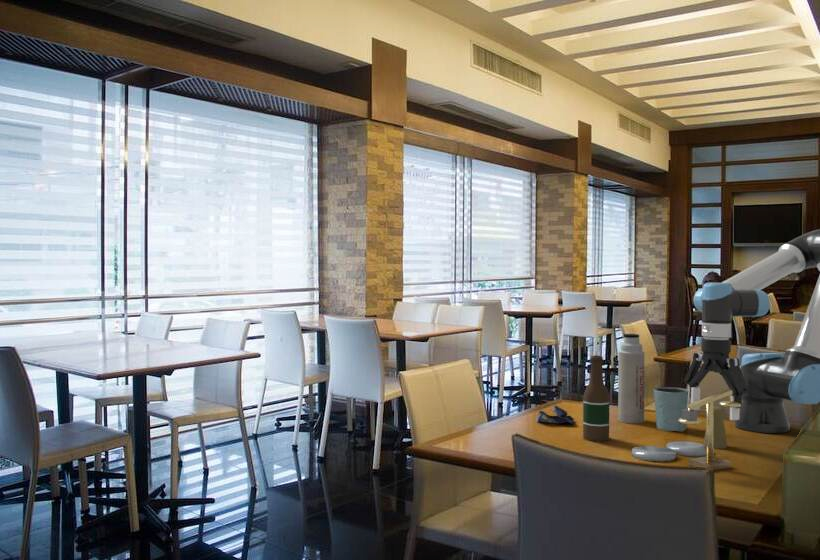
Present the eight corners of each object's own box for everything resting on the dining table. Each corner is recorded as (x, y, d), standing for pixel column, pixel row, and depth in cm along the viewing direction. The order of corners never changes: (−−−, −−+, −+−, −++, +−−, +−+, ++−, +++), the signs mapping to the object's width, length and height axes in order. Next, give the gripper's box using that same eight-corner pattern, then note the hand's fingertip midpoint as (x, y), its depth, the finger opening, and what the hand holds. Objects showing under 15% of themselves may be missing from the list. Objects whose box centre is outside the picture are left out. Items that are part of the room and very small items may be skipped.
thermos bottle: (649, 421, 224) (650, 334, 224) (631, 424, 221) (631, 335, 220) (631, 417, 232) (631, 332, 231) (612, 419, 228) (613, 333, 227)
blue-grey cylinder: (677, 433, 209) (678, 393, 208) (646, 428, 216) (646, 389, 216) (694, 428, 215) (694, 389, 215) (663, 423, 223) (663, 385, 223)
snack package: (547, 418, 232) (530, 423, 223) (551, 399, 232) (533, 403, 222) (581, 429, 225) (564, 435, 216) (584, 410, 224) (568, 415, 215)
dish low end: (654, 448, 192) (654, 444, 192) (685, 458, 182) (685, 454, 182) (622, 453, 188) (622, 448, 188) (652, 463, 178) (652, 459, 178)
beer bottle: (578, 435, 207) (579, 354, 206) (604, 435, 208) (604, 354, 207) (587, 442, 199) (588, 358, 199) (614, 441, 200) (614, 357, 199)
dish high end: (688, 444, 197) (688, 439, 197) (719, 453, 187) (719, 449, 187) (657, 448, 193) (657, 443, 192) (688, 458, 182) (688, 453, 182)
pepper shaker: (729, 449, 191) (730, 409, 191) (706, 448, 193) (706, 408, 192) (724, 443, 197) (724, 404, 197) (701, 442, 199) (701, 403, 198)
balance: (727, 458, 182) (727, 386, 181) (746, 465, 176) (747, 390, 176) (672, 467, 174) (672, 392, 174) (690, 474, 169) (691, 396, 168)
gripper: (672, 334, 204) (670, 407, 205) (743, 343, 181) (741, 425, 182) (691, 333, 207) (690, 405, 208) (764, 342, 184) (762, 423, 185)
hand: (714, 414), depth 195 cm, fingers open, 13 cm apart
